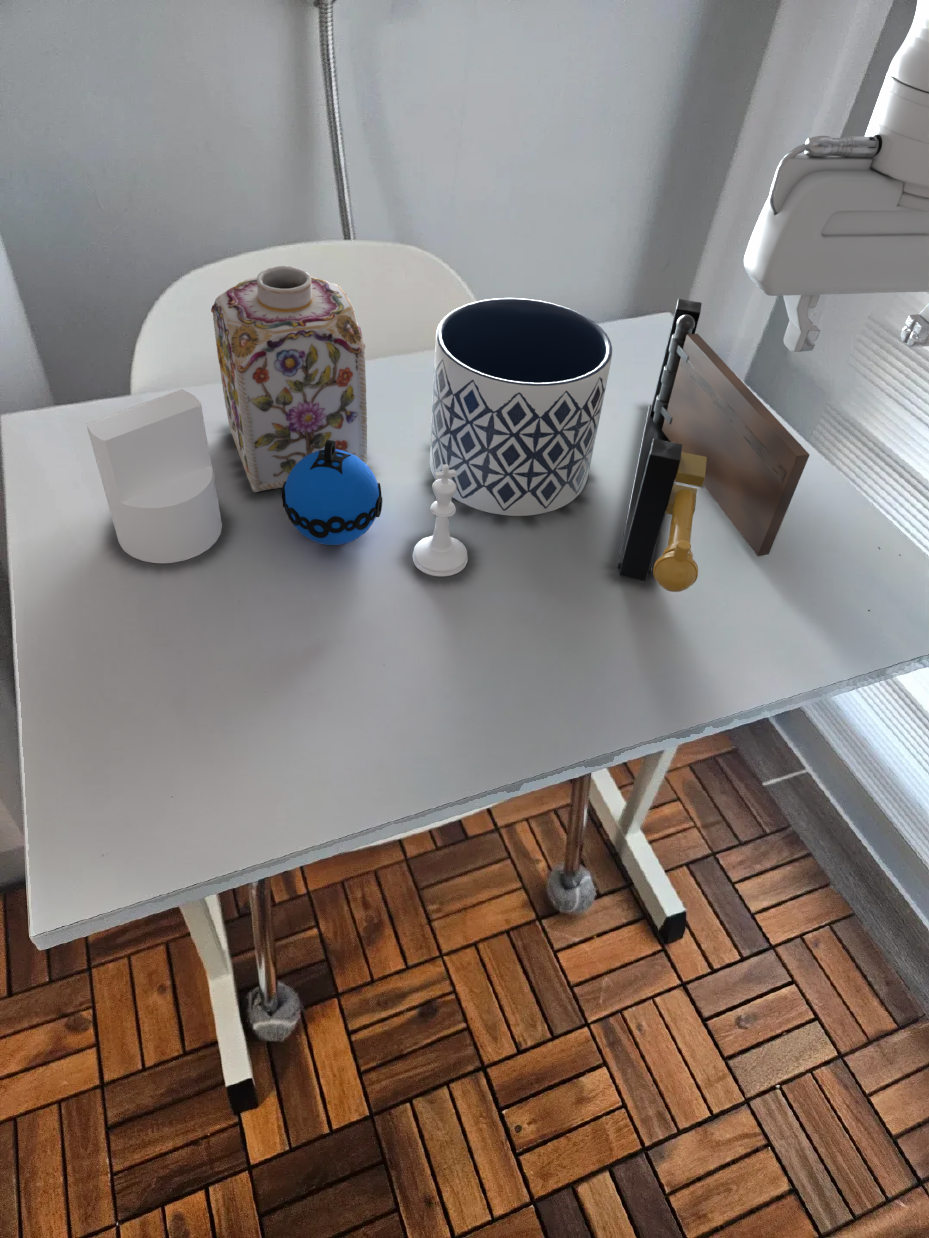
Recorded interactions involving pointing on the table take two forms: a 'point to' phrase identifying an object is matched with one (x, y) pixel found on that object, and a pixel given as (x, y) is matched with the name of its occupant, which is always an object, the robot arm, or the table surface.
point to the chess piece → (441, 533)
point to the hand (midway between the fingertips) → (856, 345)
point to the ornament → (331, 496)
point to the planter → (517, 403)
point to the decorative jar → (290, 371)
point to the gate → (729, 437)
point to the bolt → (678, 548)
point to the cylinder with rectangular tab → (159, 478)
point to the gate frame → (657, 478)
